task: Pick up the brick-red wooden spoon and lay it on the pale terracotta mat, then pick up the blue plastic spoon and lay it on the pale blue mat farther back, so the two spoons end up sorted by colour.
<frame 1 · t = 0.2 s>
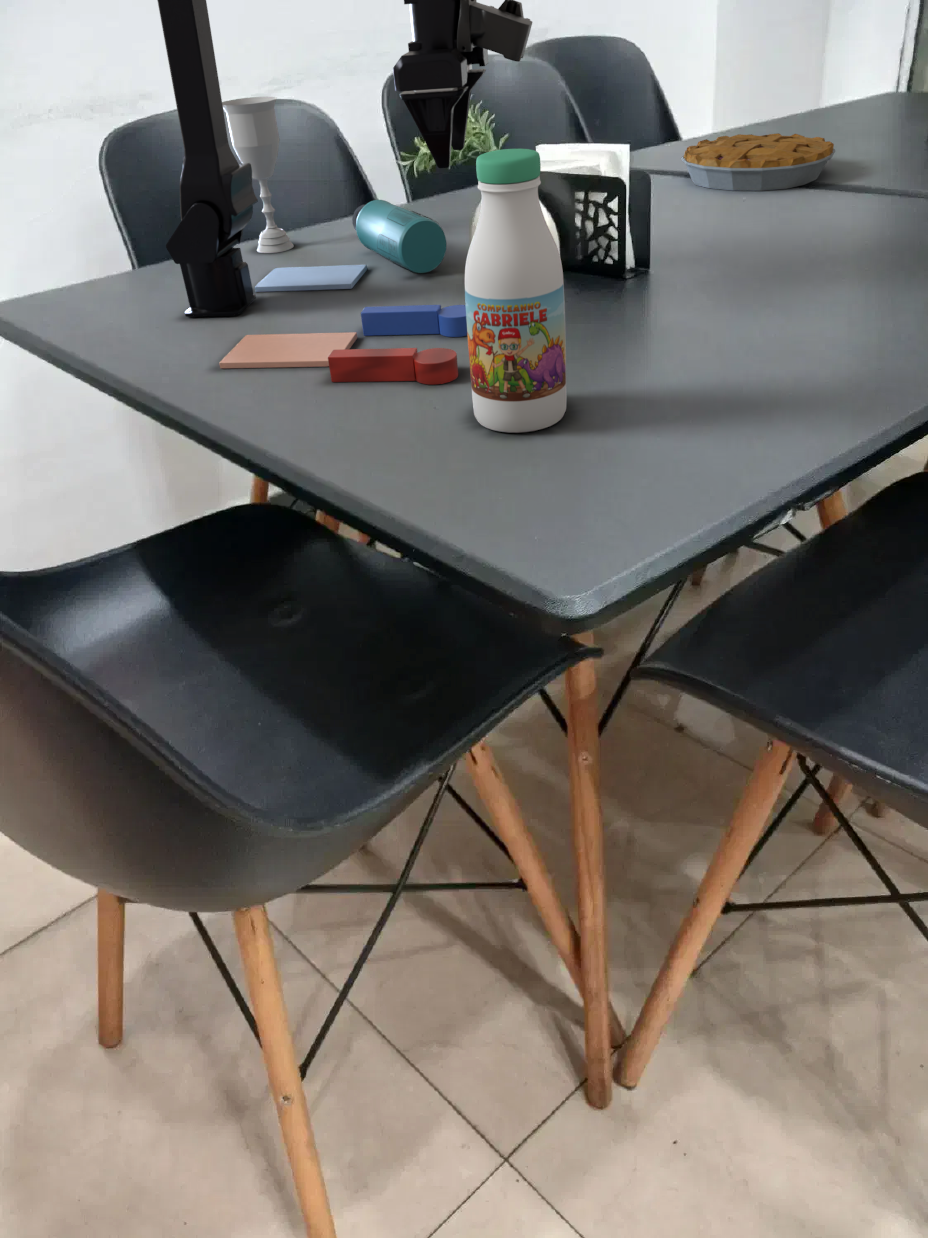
hand: (451, 158, 99), 15 cm above the table, tool pointing down, fingers open, 9 cm apart
pie: (755, 178, 146), on the table
spoon blue: (417, 331, 100), on the table
spoon red: (391, 377, 90), on the table
beverage bottle: (429, 250, 114), point 3 cm above the table
milk bottle: (520, 417, 81), on the table
mat red: (290, 352, 98), on the table
chalice: (275, 249, 133), on the table
mat blue: (312, 280, 119), on the table
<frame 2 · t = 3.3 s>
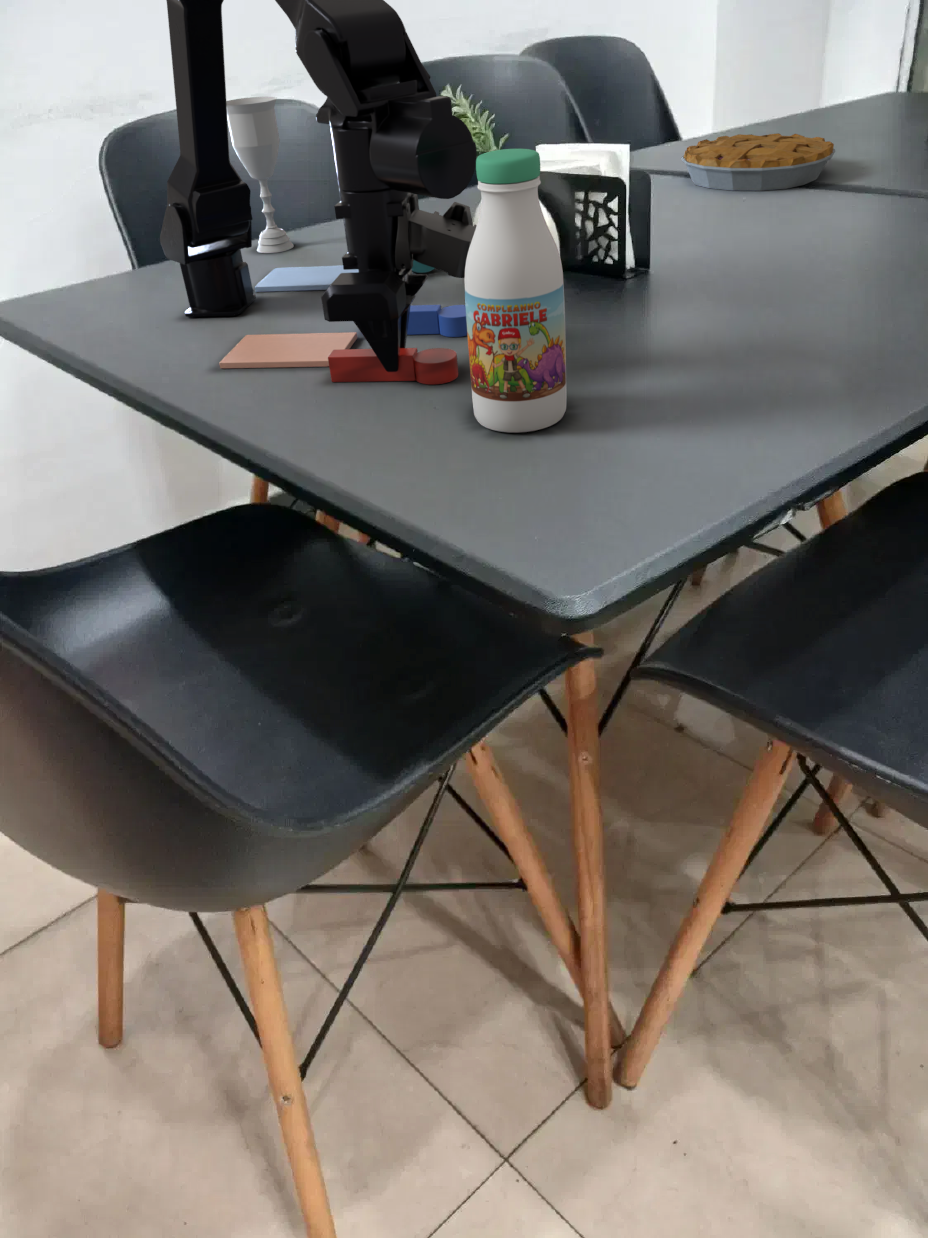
hand: (395, 366, 89), 1 cm above the table, tool pointing down, fingers closed on spoon red, 2 cm apart
spoon red: (391, 377, 90), on the table, touching gripper
everything else where it was.
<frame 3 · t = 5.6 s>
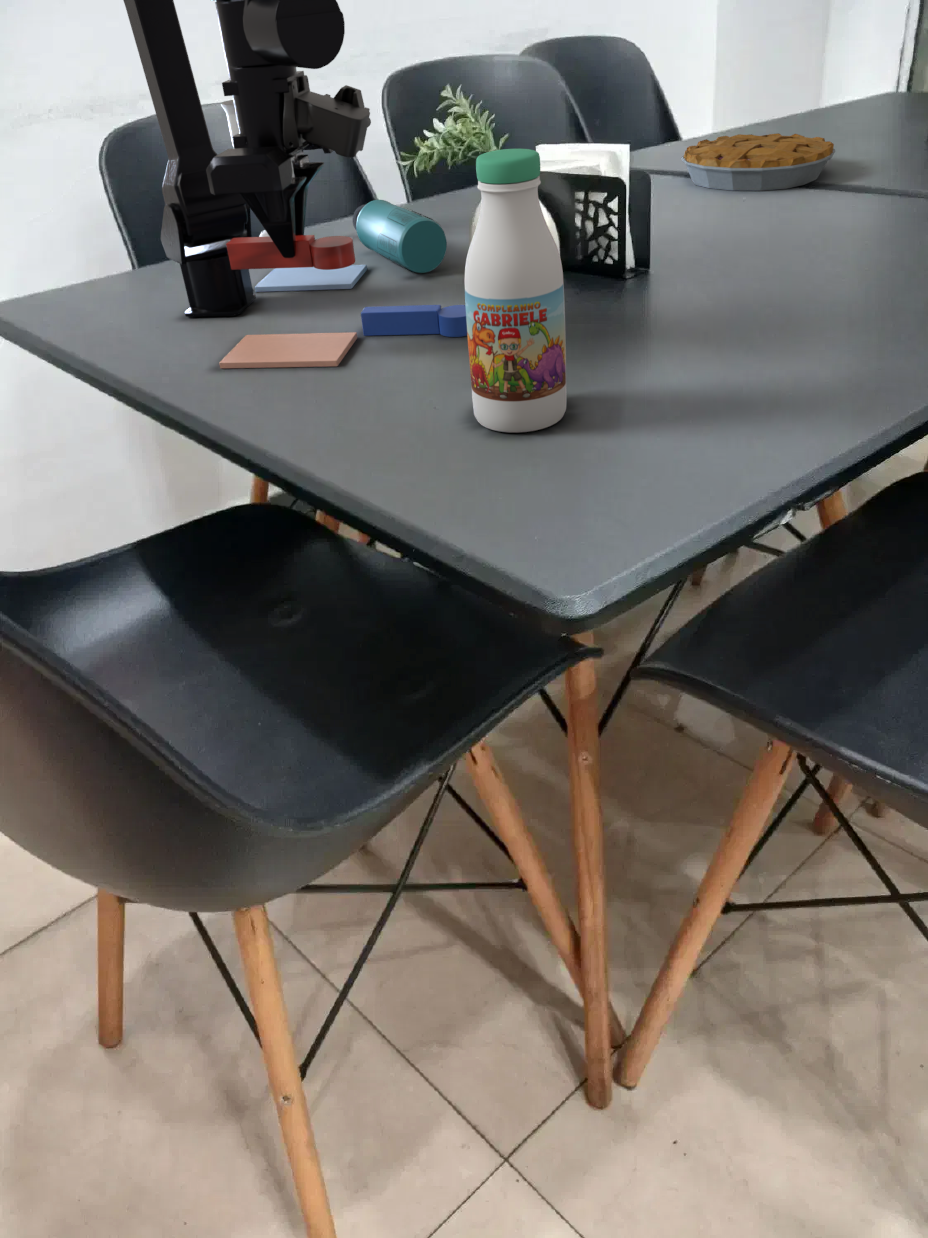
hand: (293, 253, 91), 10 cm above the table, tool pointing down, fingers closed on spoon red
spoon red: (290, 264, 91), point 9 cm above the table, touching gripper
everything else where it was.
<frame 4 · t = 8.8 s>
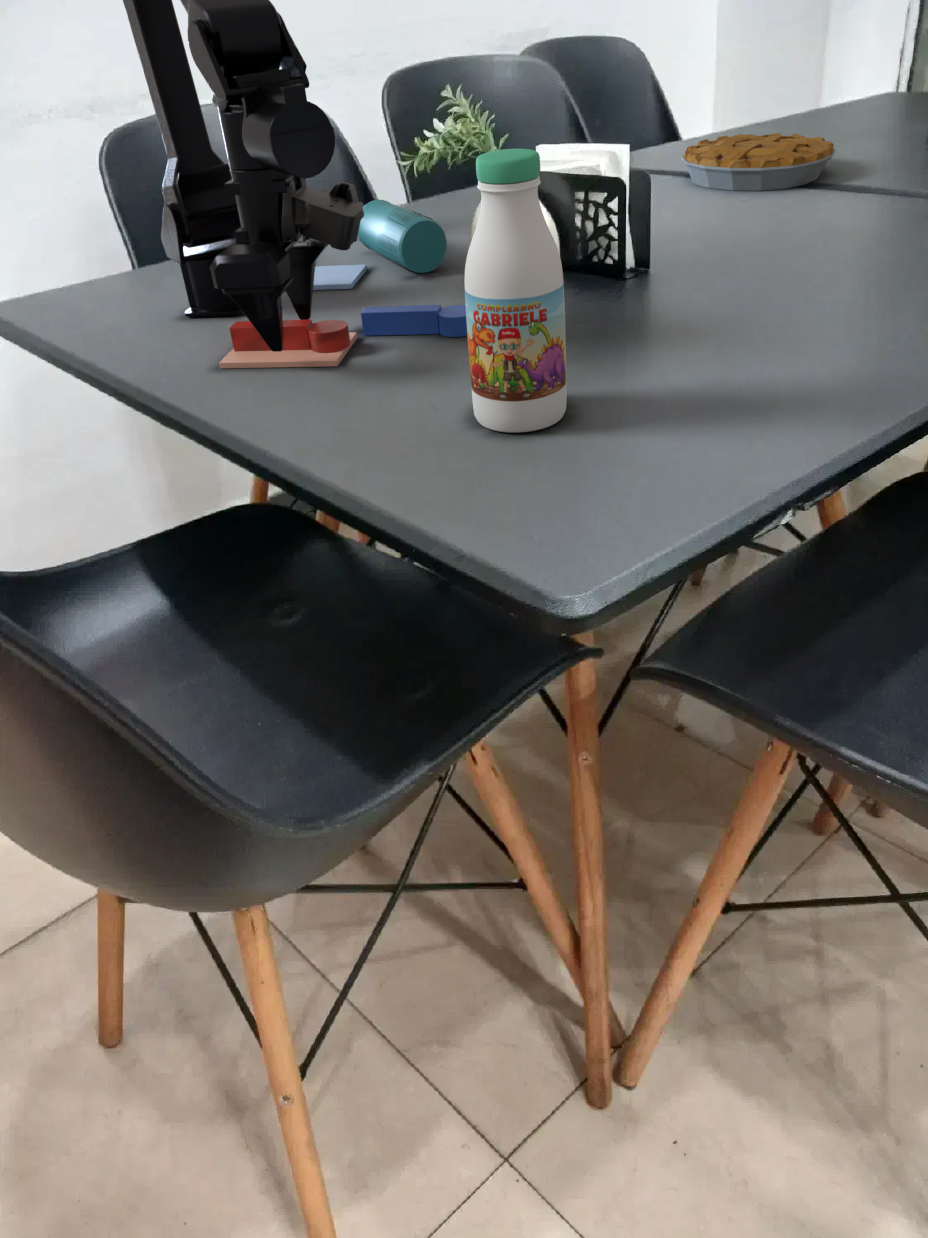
hand: (292, 334, 97), 2 cm above the table, tool pointing down, fingers open, 9 cm apart
spoon red: (289, 346, 97), point 1 cm above the table, touching mat red
everything else where it was.
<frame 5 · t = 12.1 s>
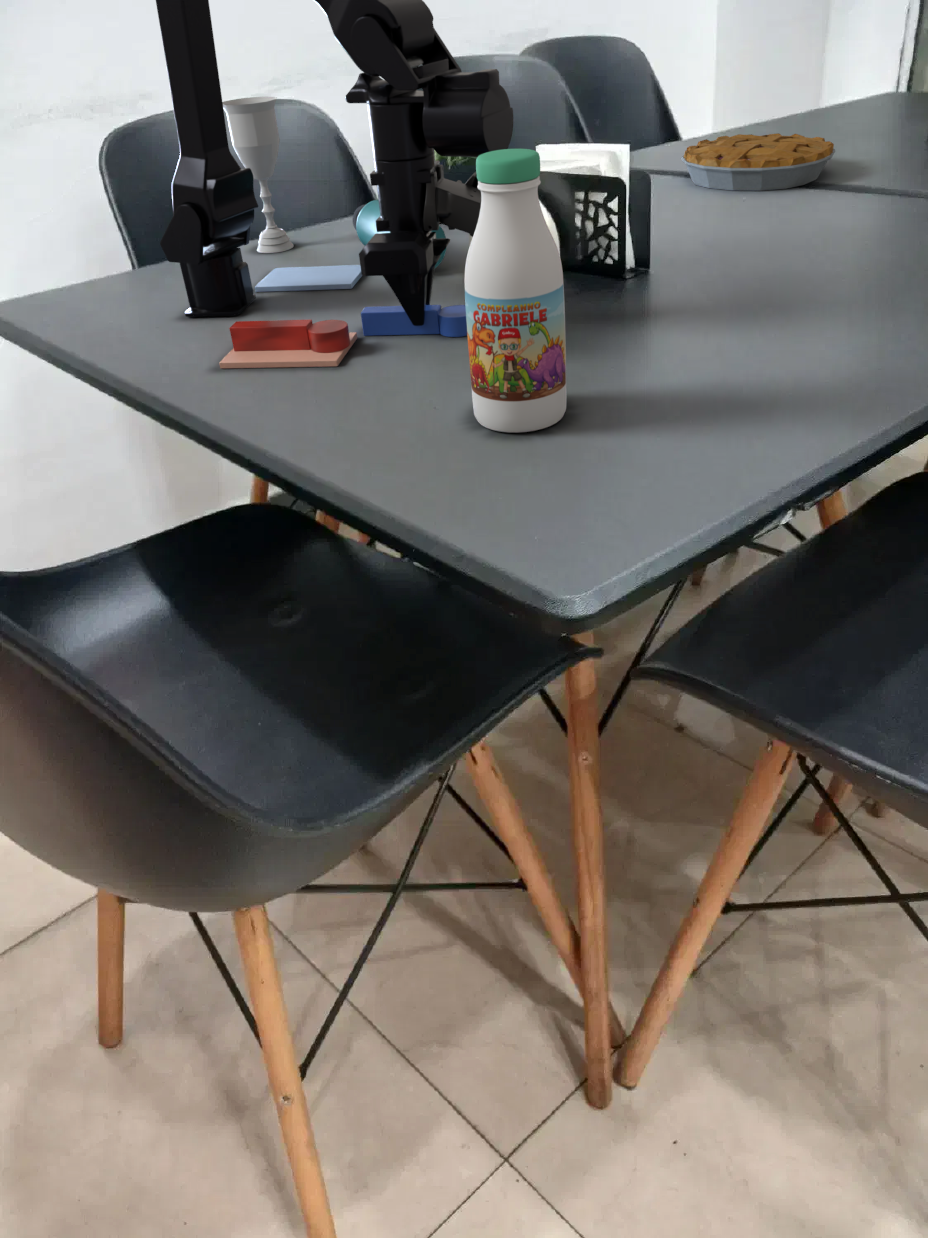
hand: (421, 321, 99), 1 cm above the table, tool pointing down, fingers closed on spoon blue, 2 cm apart
spoon blue: (417, 331, 100), on the table, touching gripper
everything else where it was.
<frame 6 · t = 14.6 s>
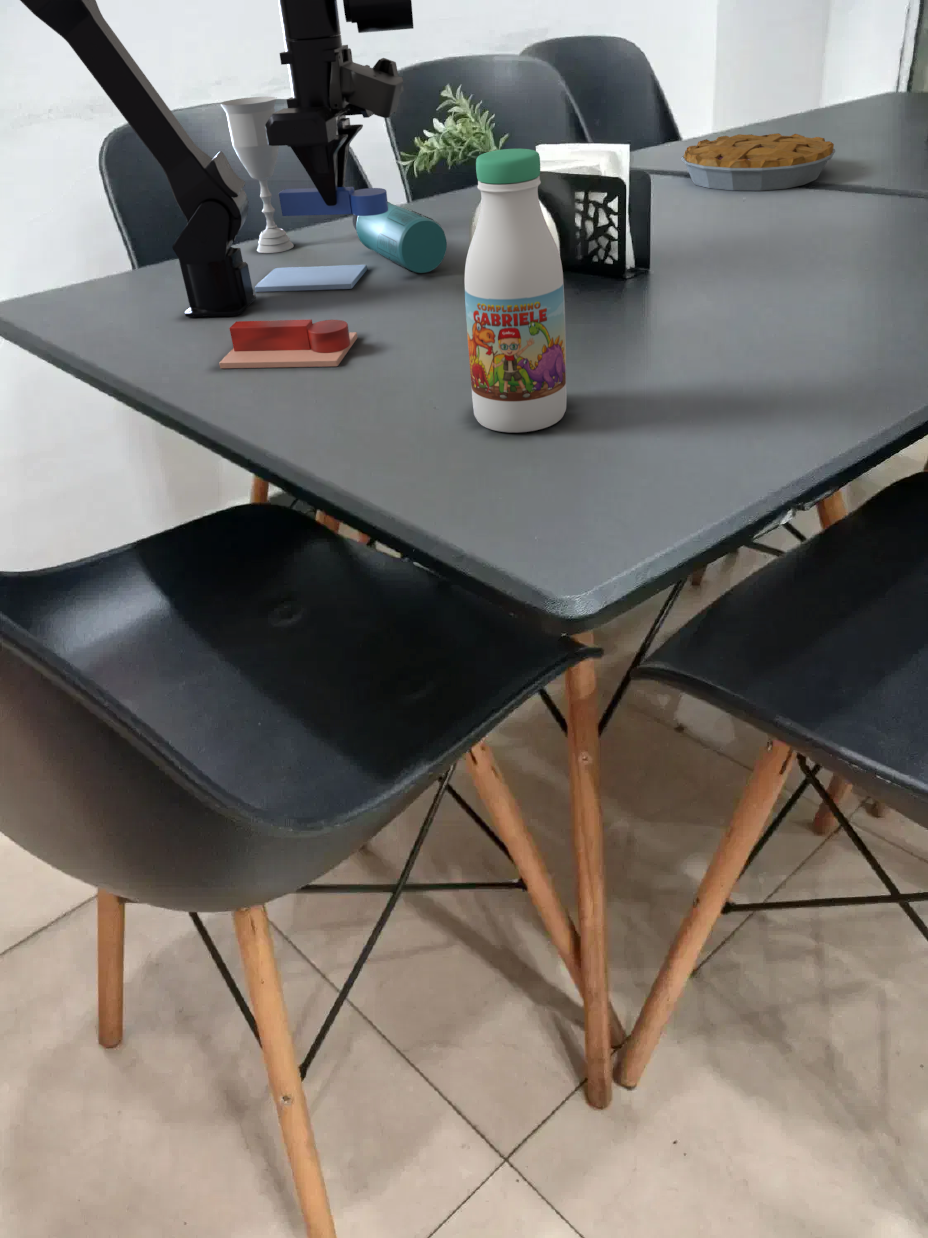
hand: (334, 202, 106), 10 cm above the table, tool pointing down, fingers closed on spoon blue
spoon blue: (332, 212, 107), point 9 cm above the table, touching gripper
everything else where it was.
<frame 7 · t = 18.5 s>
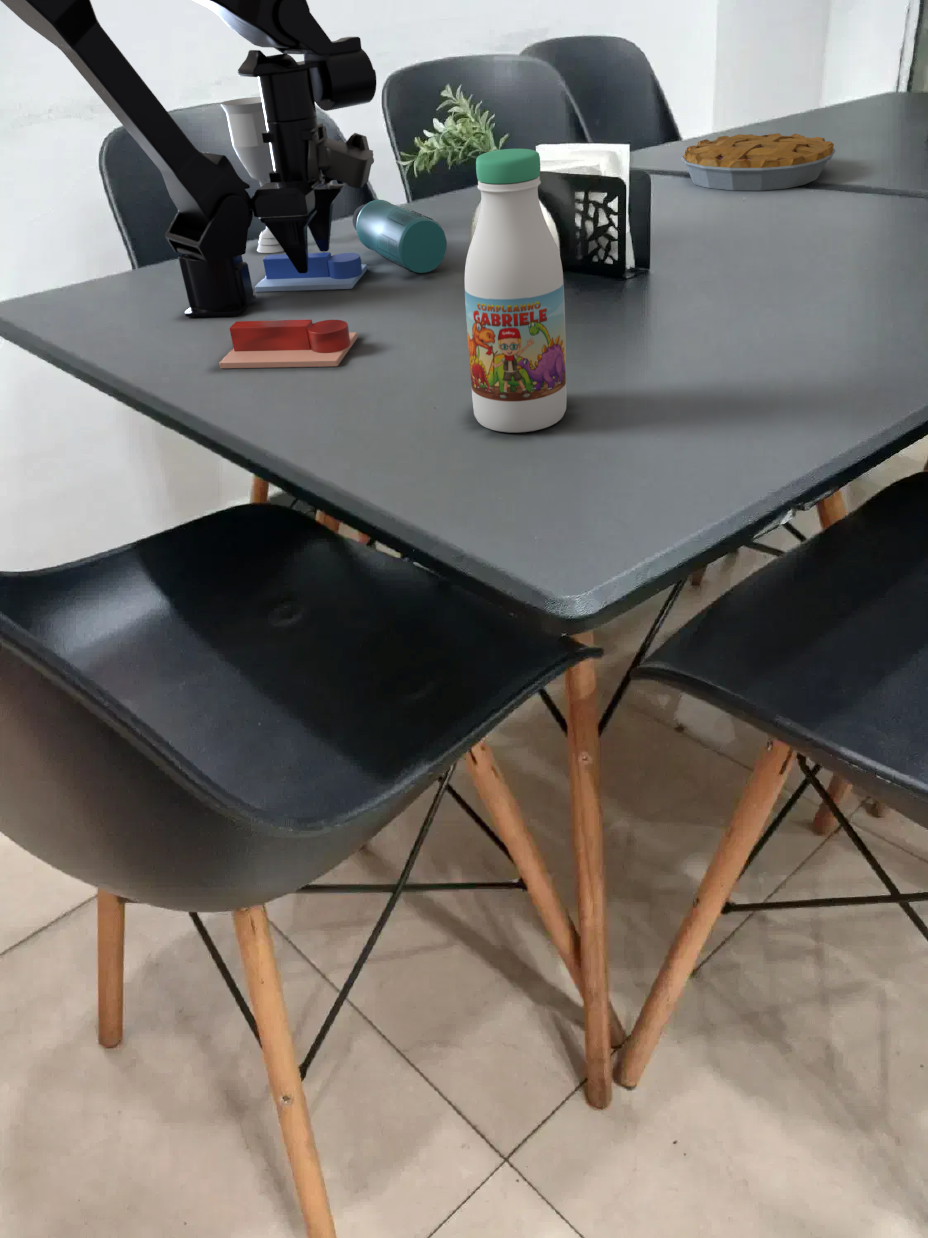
hand: (314, 261, 117), 2 cm above the table, tool pointing down, fingers open, 9 cm apart
spoon blue: (311, 275, 118), point 1 cm above the table, touching mat blue
everything else where it was.
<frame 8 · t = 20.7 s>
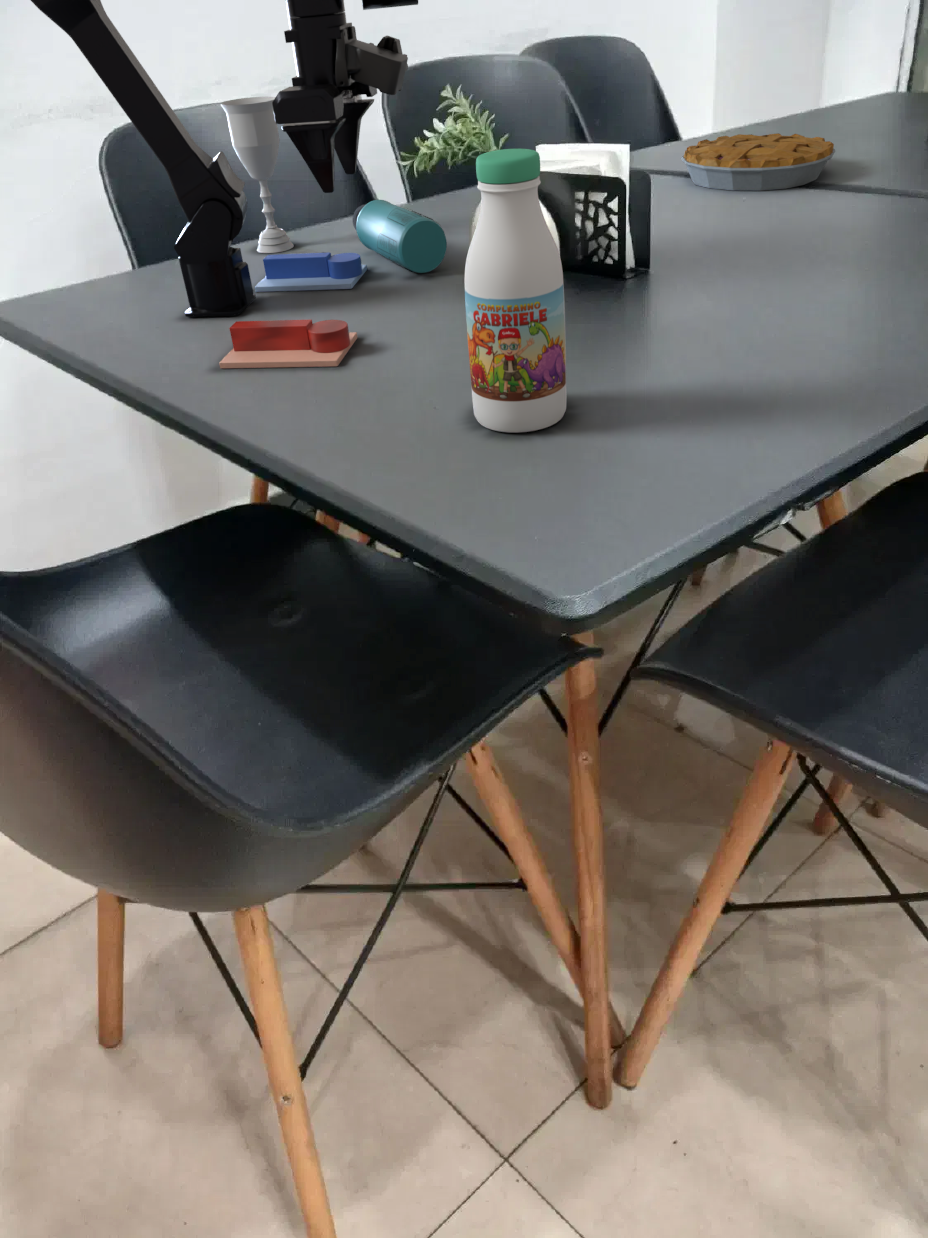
hand: (340, 182, 106), 12 cm above the table, tool pointing down, fingers open, 9 cm apart
nothing on the table moved.
at the end: spoon red inside the target area on the mat red (0.1 cm from its centre), point 0.6 cm above the mat red's base; spoon blue inside the target area on the mat blue (0.1 cm from its centre), point 0.6 cm above the mat blue's base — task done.
